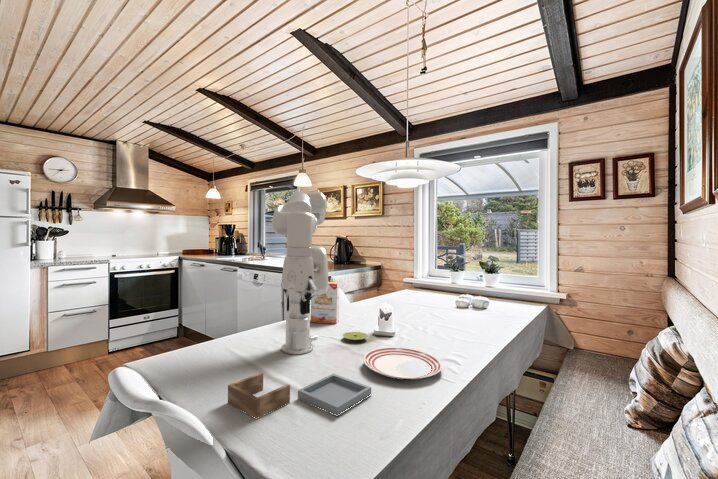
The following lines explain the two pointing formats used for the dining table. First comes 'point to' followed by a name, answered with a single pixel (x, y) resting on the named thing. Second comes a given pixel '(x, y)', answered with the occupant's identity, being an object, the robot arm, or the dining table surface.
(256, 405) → the walnut bay
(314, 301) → the cracker box
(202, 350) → the dining table surface
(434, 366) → the dinner plate
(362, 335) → the mat
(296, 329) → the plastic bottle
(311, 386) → the grey square tray
